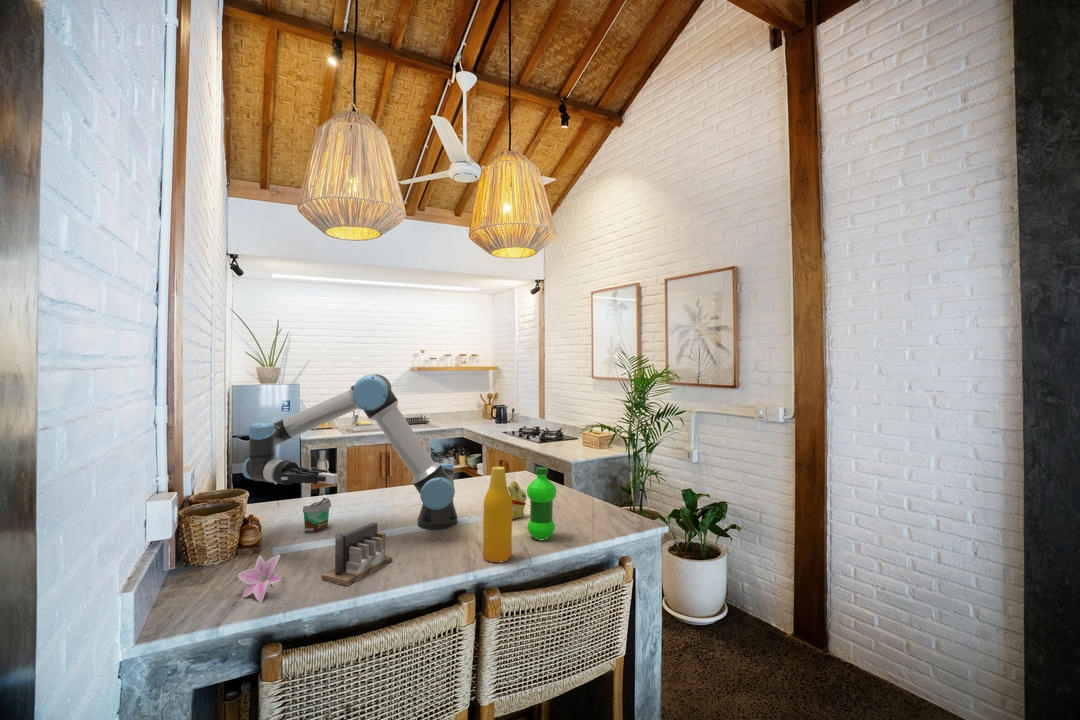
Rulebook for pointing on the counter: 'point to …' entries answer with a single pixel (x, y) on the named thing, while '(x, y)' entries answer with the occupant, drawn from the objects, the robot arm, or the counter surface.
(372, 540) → the grey model on base
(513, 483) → the chocolate bunny
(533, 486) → the plastic bottle
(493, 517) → the beer bottle
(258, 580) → the lily
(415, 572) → the counter surface
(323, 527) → the food container
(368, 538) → the grey stone panel
